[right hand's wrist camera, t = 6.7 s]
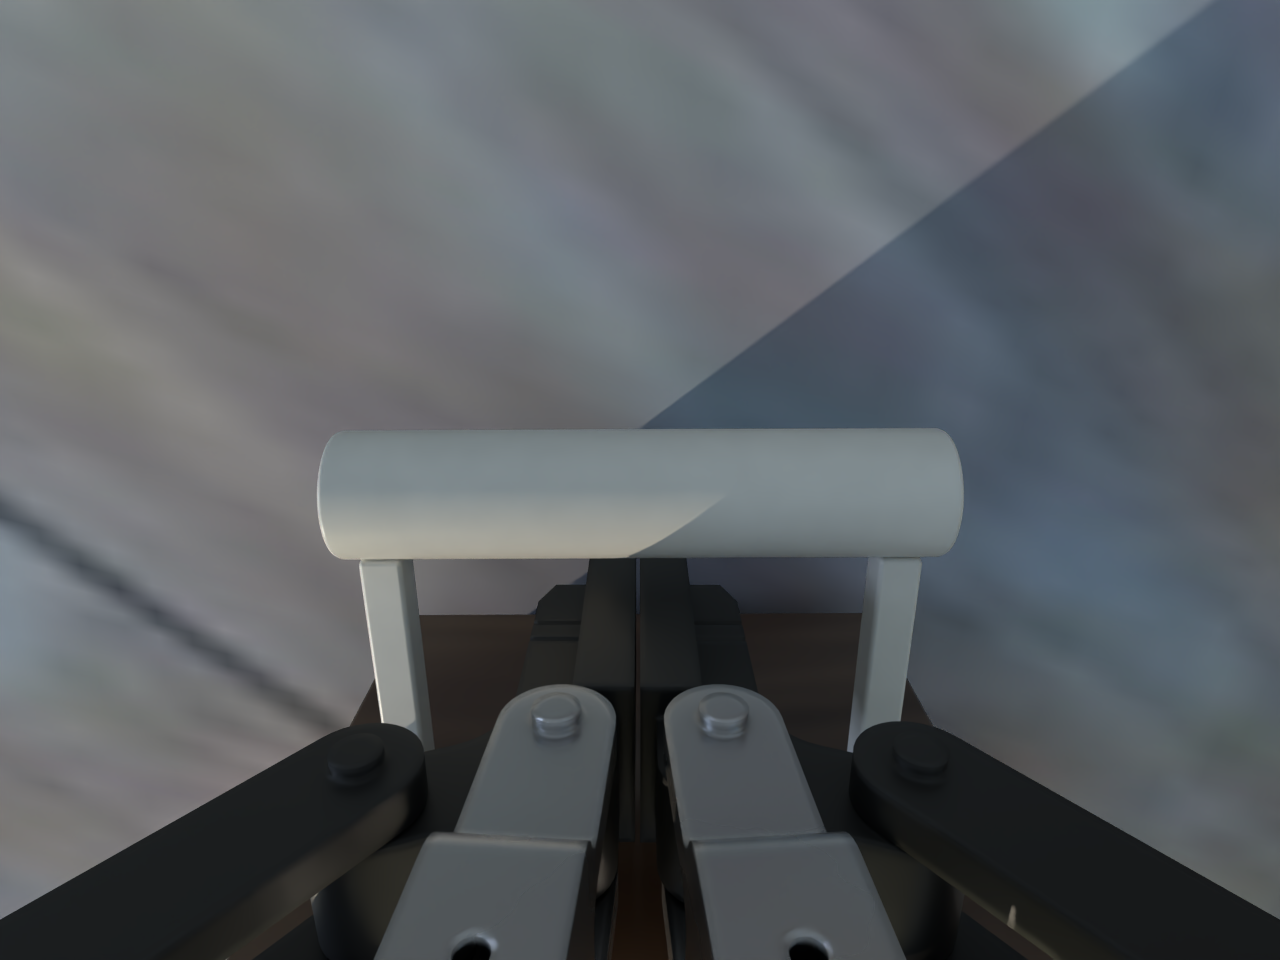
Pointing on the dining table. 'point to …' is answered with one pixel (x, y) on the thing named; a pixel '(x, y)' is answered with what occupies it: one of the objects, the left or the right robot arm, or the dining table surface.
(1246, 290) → the dining table surface
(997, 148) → the dining table surface
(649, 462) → the drawer
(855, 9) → the dining table surface
